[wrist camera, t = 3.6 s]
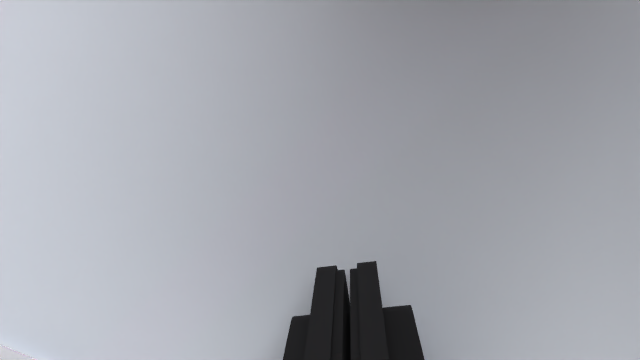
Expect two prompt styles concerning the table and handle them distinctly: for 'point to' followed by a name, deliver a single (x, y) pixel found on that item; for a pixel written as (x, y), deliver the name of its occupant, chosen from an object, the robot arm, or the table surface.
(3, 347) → the notebook
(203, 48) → the table surface
